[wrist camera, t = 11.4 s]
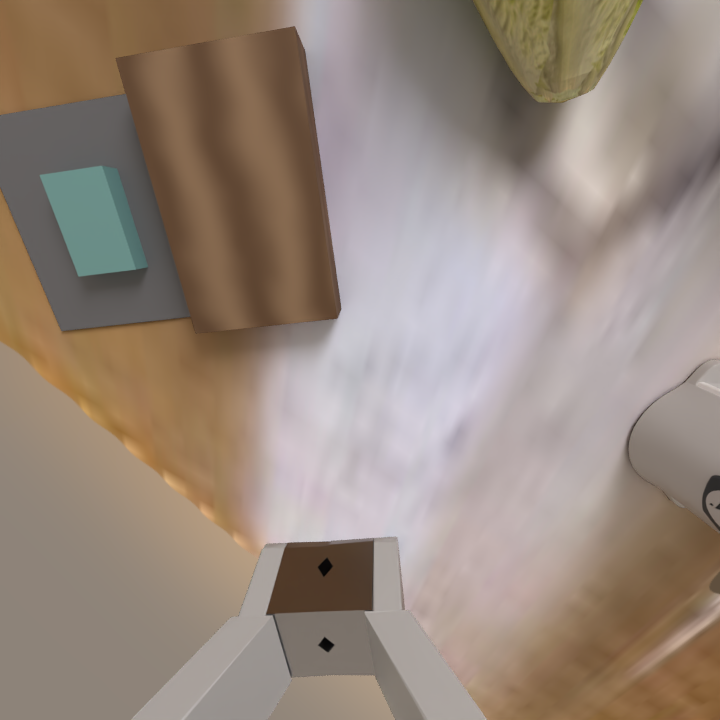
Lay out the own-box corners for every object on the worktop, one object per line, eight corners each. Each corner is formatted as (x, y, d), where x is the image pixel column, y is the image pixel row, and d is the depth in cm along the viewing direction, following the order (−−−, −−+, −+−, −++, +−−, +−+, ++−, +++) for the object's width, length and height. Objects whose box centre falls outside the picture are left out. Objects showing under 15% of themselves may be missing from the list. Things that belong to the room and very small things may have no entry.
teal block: (39, 174, 32) (57, 177, 34) (78, 276, 36) (93, 273, 37) (101, 165, 32) (117, 168, 34) (136, 269, 35) (148, 267, 37)
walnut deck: (304, 50, 30) (294, 26, 26) (341, 308, 38) (337, 318, 34) (146, 77, 31) (115, 58, 28) (213, 322, 39) (195, 333, 35)
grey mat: (139, 93, 32) (137, 91, 32) (201, 314, 39) (200, 315, 39) (-25, 120, 33) (-29, 120, 33) (63, 330, 40) (61, 330, 40)
